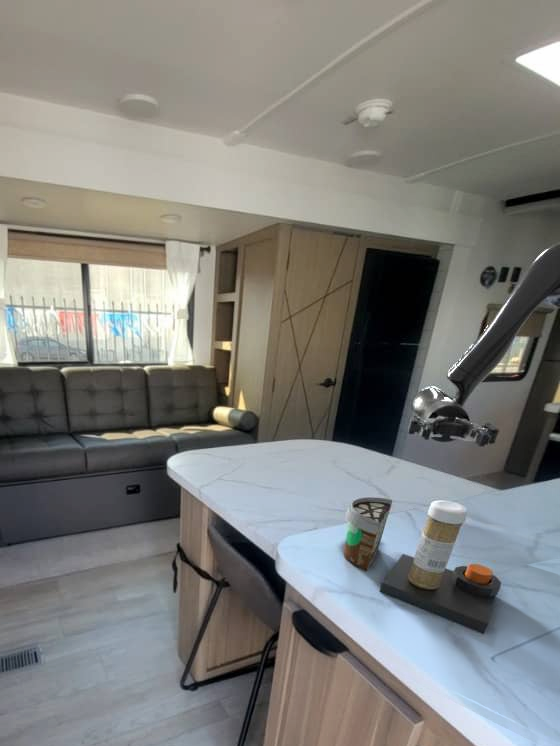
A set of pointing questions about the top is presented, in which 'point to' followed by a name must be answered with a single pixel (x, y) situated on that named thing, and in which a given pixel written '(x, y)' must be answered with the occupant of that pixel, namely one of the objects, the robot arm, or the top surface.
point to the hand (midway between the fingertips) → (455, 437)
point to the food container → (365, 529)
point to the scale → (445, 595)
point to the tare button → (478, 573)
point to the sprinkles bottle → (436, 543)
